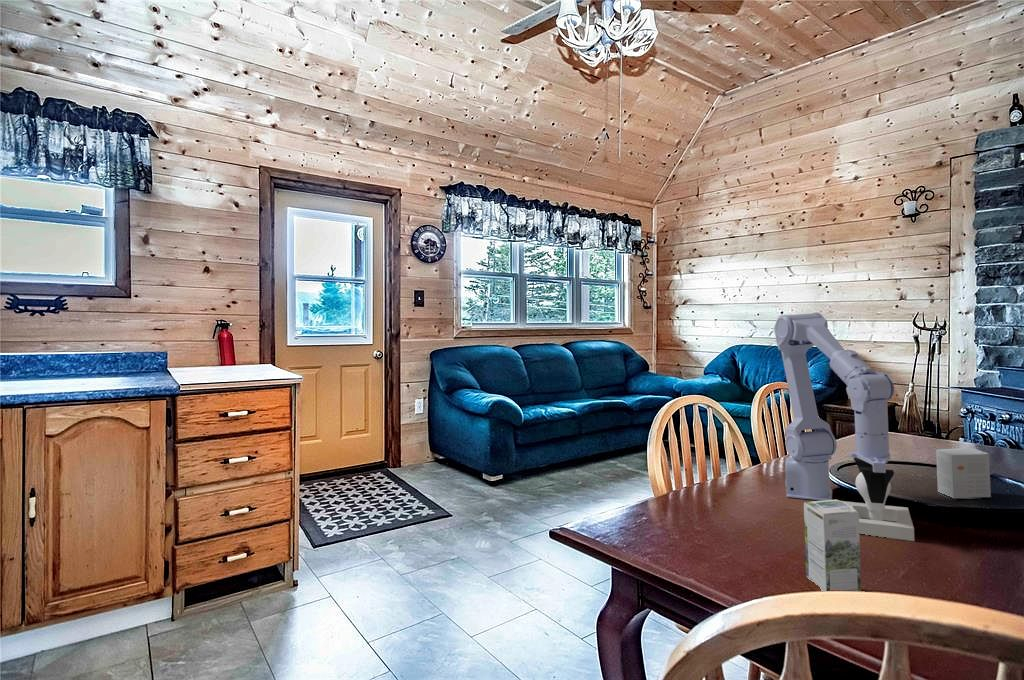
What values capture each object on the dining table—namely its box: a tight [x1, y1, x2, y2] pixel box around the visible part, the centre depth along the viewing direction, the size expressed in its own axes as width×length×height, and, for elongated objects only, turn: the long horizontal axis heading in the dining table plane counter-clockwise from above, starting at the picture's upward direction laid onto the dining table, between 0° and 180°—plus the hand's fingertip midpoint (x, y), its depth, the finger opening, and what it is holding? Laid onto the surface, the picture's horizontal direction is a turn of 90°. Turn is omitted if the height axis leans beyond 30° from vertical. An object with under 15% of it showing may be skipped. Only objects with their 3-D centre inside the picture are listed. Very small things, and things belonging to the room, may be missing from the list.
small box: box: [935, 447, 992, 498], centre depth 126 cm, size 8×6×10 cm
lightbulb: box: [855, 471, 892, 521], centre depth 113 cm, size 6×6×11 cm
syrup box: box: [803, 499, 862, 592], centre depth 89 cm, size 6×6×14 cm
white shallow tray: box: [841, 500, 915, 542], centre depth 113 cm, size 12×12×2 cm
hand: (874, 497), depth 113 cm, fingers closed on lightbulb, 6 cm apart
